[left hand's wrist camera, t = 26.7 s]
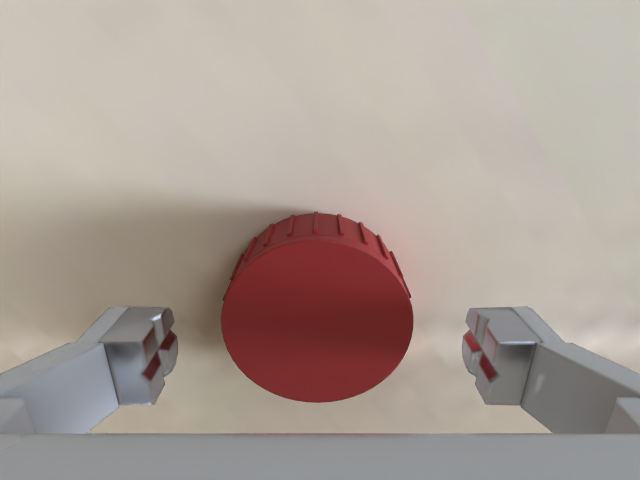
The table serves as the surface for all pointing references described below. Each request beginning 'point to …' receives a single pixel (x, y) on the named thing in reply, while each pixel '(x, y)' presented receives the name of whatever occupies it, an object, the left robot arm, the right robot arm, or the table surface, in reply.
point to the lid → (317, 309)
